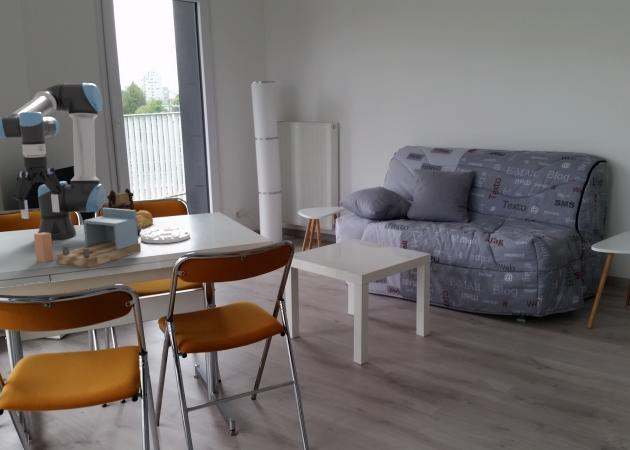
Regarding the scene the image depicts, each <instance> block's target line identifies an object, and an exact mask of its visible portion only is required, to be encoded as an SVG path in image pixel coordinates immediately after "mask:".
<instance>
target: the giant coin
mask: <svg viewBox="0 0 630 450" xmlns="http://www.w3.org/2000/svg"><path fill="white" fill-rule="evenodd" d="M189 238H190V231H188V230H185V229H179V227H172V228H171V227H165V228H163V229H160V228H155V229H149V230H147V231H144V232H142V233H140V241H142V242H145V243H146V244H169V243H177V242H183V241H185V240H187V239H189Z"/></svg>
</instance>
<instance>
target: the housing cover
mask: <svg viewBox="0 0 630 450" xmlns="http://www.w3.org/2000/svg"><path fill="white" fill-rule="evenodd" d="M101 211H102V215H101V216H97V217H92V218H88V219H87V218H86V219H85V220H83V221H82V223H83V233H84V242H85V244H84V245H85V246H90V245H93V244H97V243H100V242H104V241H115V244H116V249H117V250H118V249H122V248H125V247H128V246H131V245H134V244H138V243H139V236H138V231H137V217H136V212H137V210H136V209H133V210H131V209H127V208H125V209H113V208H108V207H102V208H101Z"/></svg>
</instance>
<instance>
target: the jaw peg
mask: <svg viewBox="0 0 630 450" xmlns="http://www.w3.org/2000/svg"><path fill="white" fill-rule="evenodd" d="M33 238H34V247H35V255H36V262H40V263H48V262H50V261H54V251H53V240H52V239H51V233H45V232H42V233H38V232H37V233H35V234H33Z"/></svg>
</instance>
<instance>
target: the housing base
mask: <svg viewBox="0 0 630 450" xmlns="http://www.w3.org/2000/svg"><path fill="white" fill-rule="evenodd" d="M141 248H142V247H141V243H140V242H138V244H134V245H131V246H128V247H125V248H122V249H118V250H117V249H116V244H115V241H104V242H100V243H97V244H93V245H90V246H86V245H85V246H82V247H79V248H75V249H72V250H70V249H69V245H62V246H61V249H62V253H61V252H60V253H57V254H55V255H56V256H55V257H56V263H57V264H61V265H63V264H64V265H68V264H69V265H71V266H77V267H84V268H93V267H95V266H99V265H102V264H105V263H109V262H111V261H114V260H117V259H120V258H123V257H126V255H127V256H129V254H130V255H132V253H133V254H134V253H138V252H141V250H142V249H141ZM119 257H120V258H119ZM116 258H117V259H116Z"/></svg>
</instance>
